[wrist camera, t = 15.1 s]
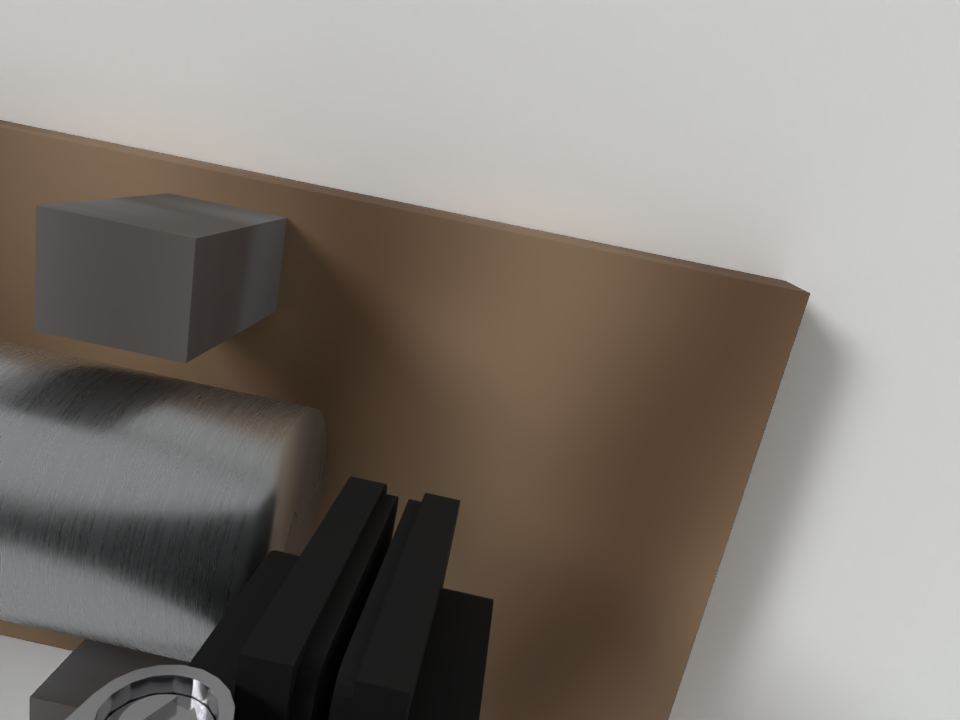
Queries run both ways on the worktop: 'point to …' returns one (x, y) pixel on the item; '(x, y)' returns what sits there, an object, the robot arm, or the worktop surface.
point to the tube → (143, 498)
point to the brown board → (428, 390)
